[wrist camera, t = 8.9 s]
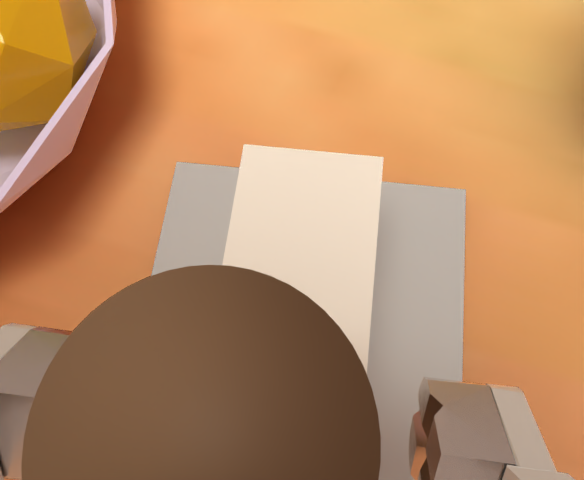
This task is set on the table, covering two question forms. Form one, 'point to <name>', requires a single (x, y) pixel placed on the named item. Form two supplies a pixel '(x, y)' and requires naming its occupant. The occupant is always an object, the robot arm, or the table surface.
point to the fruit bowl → (47, 82)
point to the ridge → (339, 260)
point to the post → (204, 387)
